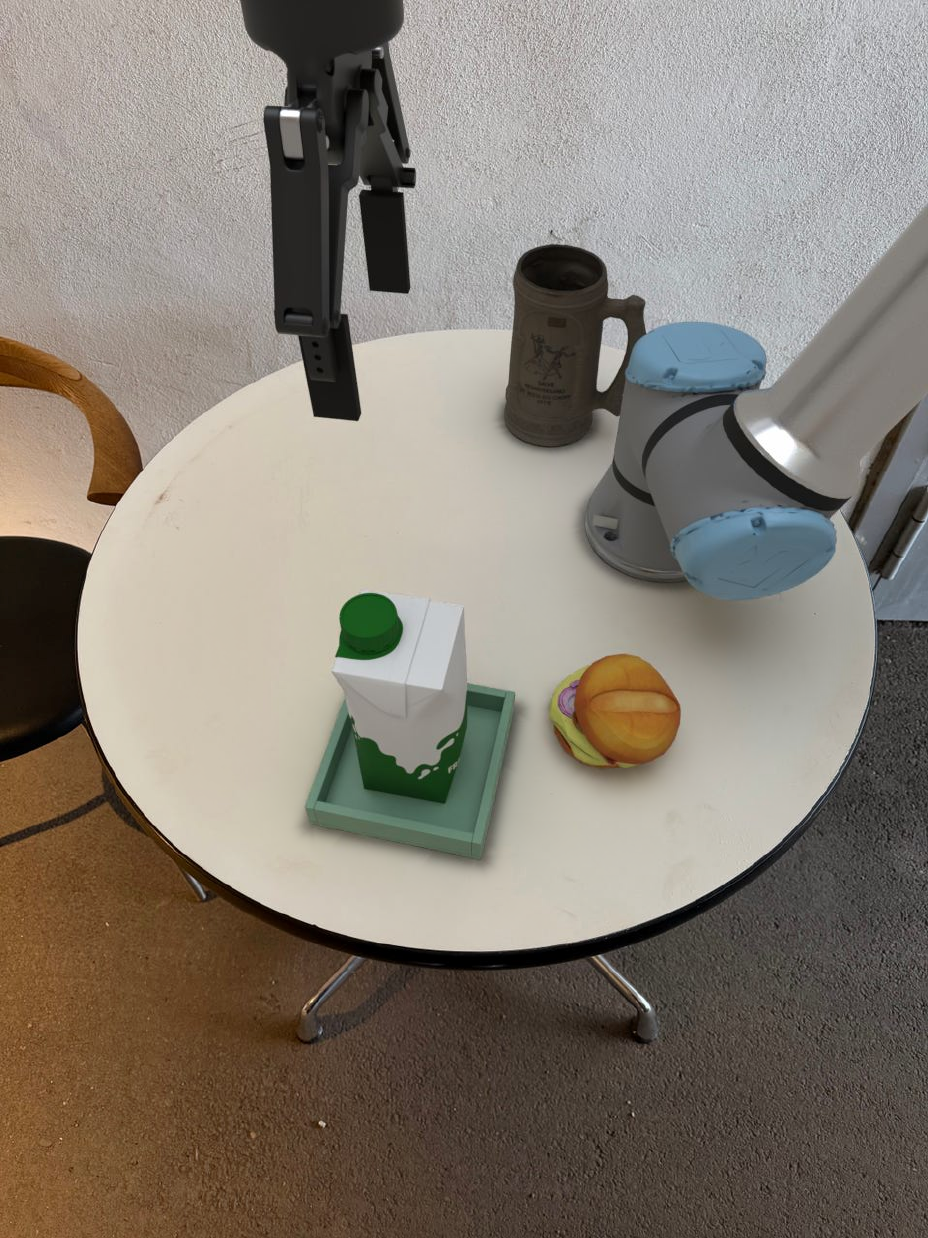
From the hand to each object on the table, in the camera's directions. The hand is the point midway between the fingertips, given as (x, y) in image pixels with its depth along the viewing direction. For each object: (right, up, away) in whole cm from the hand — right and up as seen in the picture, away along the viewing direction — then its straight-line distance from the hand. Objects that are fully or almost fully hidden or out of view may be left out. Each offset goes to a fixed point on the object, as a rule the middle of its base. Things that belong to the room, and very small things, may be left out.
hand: (365, 348), depth 55 cm
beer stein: (+19, +7, +49) cm, 53 cm away
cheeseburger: (+19, -27, +22) cm, 40 cm away
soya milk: (+2, -30, +20) cm, 36 cm away
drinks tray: (+2, -30, +20) cm, 36 cm away
